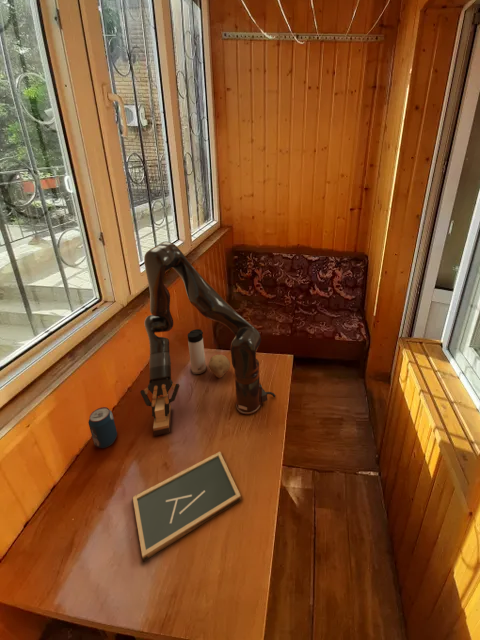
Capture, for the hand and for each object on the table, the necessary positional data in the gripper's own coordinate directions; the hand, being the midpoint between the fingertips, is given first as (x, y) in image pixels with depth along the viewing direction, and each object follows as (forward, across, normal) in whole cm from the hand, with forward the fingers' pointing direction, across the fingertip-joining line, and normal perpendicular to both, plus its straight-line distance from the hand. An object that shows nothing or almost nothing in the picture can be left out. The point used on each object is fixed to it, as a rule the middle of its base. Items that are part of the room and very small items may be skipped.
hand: (161, 416), depth 110 cm
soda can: (+4, -18, +3) cm, 19 cm away
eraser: (+2, 0, +5) cm, 5 cm away
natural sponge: (-12, +22, +20) cm, 32 cm away
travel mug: (-16, +13, +24) cm, 31 cm away
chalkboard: (+23, +9, -16) cm, 30 cm away
